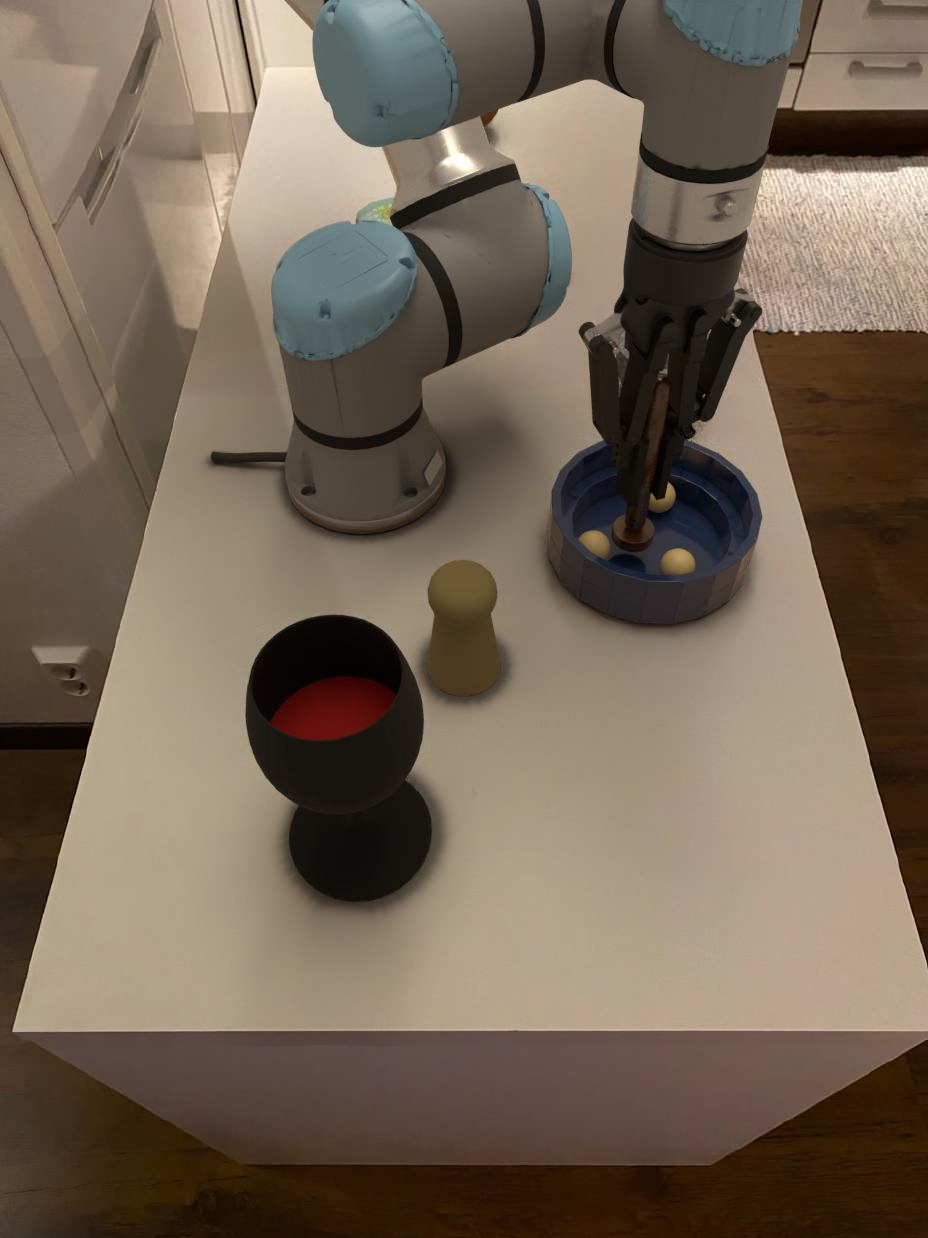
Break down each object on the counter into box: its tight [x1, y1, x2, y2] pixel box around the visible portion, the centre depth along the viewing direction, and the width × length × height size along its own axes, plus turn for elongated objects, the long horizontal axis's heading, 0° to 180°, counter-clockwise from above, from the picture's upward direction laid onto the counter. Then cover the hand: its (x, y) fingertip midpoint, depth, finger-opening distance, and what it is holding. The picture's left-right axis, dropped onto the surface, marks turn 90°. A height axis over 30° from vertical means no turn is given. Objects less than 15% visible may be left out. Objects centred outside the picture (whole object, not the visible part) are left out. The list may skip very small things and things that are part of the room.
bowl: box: [547, 439, 763, 625], centre depth 83 cm, size 18×18×6 cm
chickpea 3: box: [660, 548, 696, 575], centre depth 81 cm, size 3×3×3 cm
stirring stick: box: [611, 375, 672, 552], centre depth 76 cm, size 4×4×17 cm
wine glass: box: [244, 614, 433, 902], centre depth 61 cm, size 10×10×20 cm
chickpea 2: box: [648, 482, 676, 513], centre depth 86 cm, size 3×3×3 cm
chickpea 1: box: [578, 530, 610, 560], centre depth 83 cm, size 3×3×3 cm
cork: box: [426, 559, 502, 697], centre depth 73 cm, size 6×6×11 cm
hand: (640, 491), depth 78 cm, fingers closed on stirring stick, 2 cm apart
